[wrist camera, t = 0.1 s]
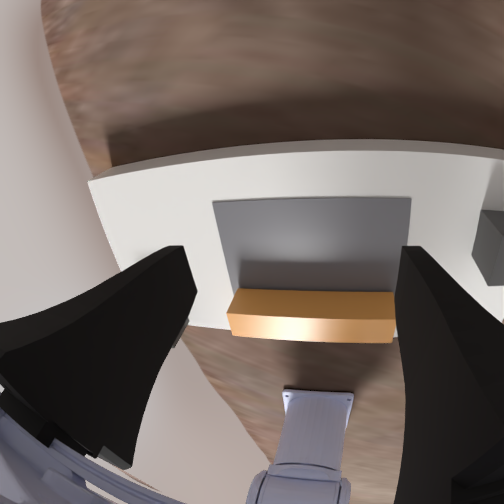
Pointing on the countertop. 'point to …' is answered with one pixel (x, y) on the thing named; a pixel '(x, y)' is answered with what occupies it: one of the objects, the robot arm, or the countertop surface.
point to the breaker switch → (313, 315)
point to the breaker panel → (305, 215)
